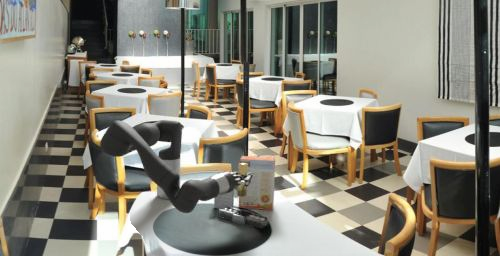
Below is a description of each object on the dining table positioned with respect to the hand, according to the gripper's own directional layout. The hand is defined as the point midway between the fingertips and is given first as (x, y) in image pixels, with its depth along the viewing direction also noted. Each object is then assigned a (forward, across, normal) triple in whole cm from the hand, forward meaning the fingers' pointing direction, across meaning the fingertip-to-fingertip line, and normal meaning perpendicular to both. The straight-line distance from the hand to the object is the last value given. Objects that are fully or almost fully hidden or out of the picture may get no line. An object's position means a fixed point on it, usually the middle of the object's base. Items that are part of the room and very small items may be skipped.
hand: (246, 174), depth 170 cm
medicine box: (+5, -14, -18) cm, 23 cm away
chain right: (-2, +6, -18) cm, 19 cm away
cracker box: (+14, -4, -18) cm, 23 cm away
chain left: (-2, -6, -18) cm, 19 cm away
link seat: (-2, 0, -18) cm, 18 cm away
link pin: (-3, 0, -8) cm, 8 cm away
